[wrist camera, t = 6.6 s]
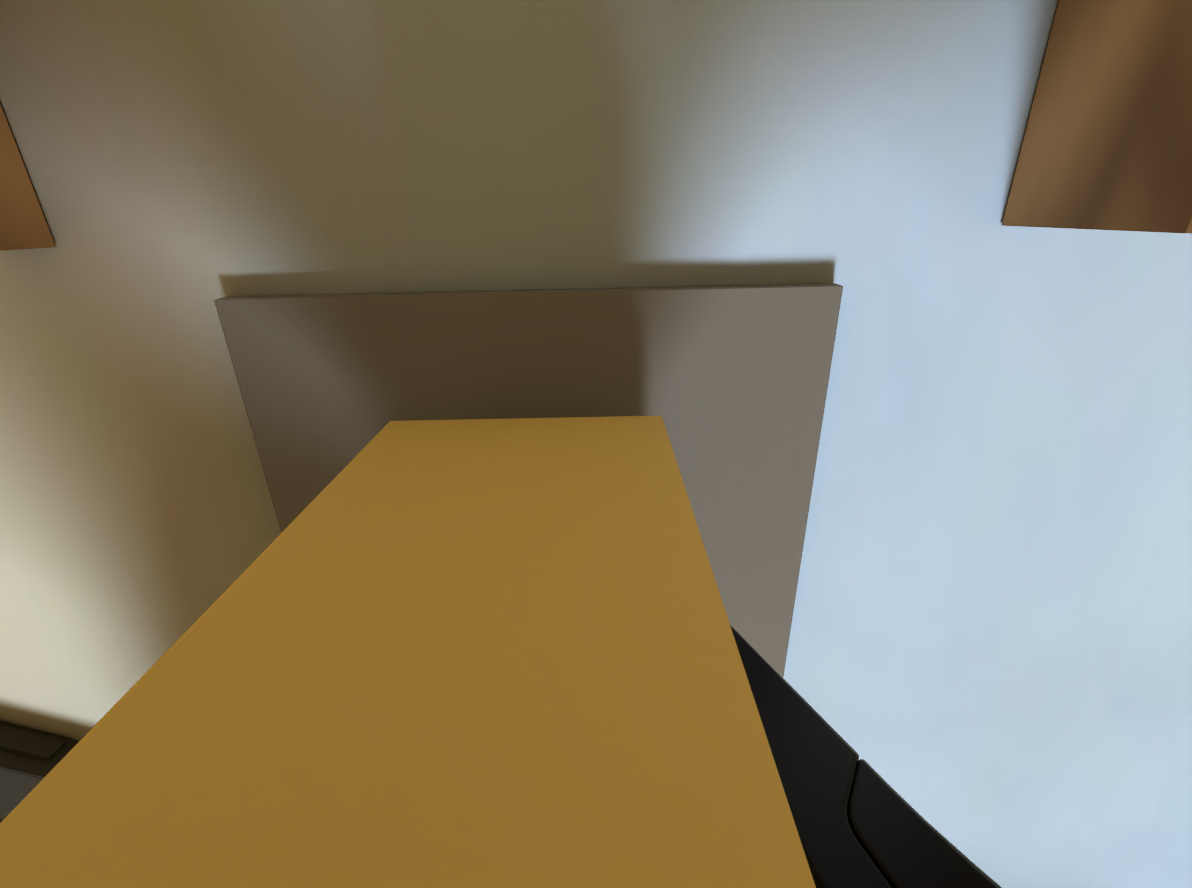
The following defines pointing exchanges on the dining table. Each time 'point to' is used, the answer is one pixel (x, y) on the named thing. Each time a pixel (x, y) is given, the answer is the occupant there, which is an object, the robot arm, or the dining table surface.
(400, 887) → the mustard block
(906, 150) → the dining table surface
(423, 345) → the gray panel
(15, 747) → the smart home device
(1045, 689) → the dining table surface
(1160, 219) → the wooden u-shaped frame
